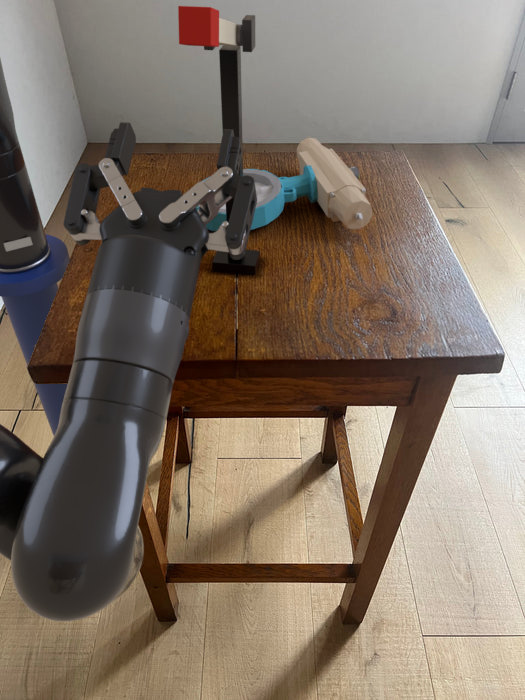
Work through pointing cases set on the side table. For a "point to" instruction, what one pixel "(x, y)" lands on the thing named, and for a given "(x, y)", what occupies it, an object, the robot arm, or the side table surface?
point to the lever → (206, 28)
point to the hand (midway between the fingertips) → (178, 132)
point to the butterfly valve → (309, 189)
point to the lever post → (235, 132)
